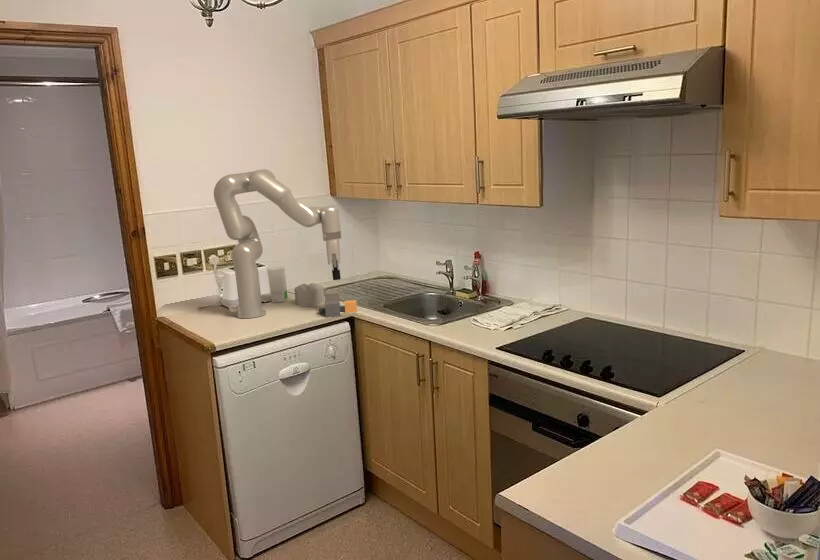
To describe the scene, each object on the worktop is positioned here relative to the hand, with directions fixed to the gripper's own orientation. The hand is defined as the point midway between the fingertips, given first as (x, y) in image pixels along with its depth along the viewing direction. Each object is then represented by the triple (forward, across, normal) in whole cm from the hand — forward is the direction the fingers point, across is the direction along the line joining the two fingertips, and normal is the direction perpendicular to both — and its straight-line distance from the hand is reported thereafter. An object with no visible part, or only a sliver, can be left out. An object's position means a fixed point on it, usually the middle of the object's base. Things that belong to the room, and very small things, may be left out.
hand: (336, 279), depth 272 cm
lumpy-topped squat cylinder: (+14, -22, -14) cm, 30 cm away
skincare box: (+13, -32, -28) cm, 45 cm away
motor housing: (+14, 0, -3) cm, 14 cm away
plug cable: (+14, 0, -1) cm, 14 cm away
